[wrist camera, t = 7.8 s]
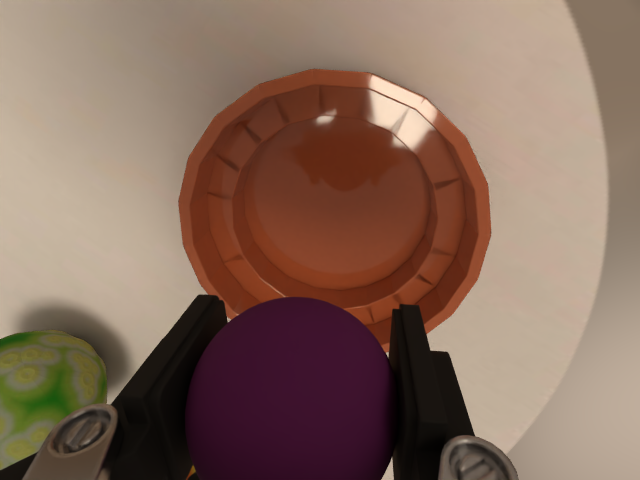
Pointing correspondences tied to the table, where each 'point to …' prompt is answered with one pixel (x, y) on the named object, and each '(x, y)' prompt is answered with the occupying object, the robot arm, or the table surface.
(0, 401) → the decorative ball
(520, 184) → the table surface
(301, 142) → the bowl
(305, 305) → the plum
